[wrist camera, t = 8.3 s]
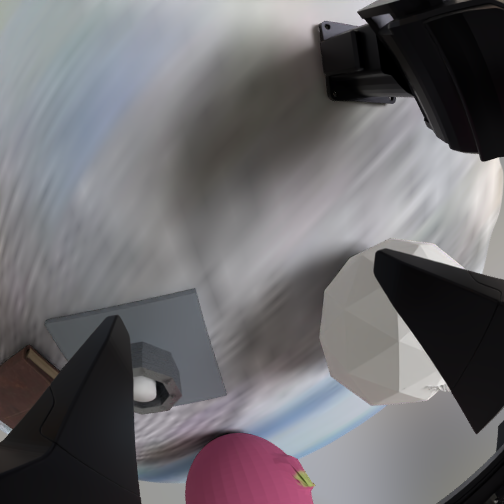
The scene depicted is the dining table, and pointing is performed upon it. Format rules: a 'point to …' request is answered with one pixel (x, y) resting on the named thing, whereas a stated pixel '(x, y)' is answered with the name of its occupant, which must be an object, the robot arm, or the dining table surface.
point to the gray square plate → (155, 341)
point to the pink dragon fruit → (246, 474)
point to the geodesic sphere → (376, 333)
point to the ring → (156, 376)
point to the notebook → (23, 383)
